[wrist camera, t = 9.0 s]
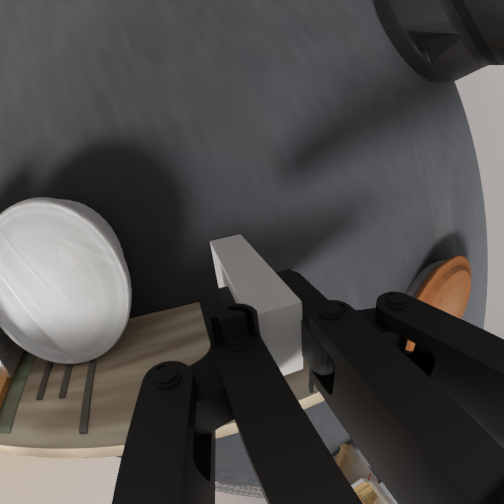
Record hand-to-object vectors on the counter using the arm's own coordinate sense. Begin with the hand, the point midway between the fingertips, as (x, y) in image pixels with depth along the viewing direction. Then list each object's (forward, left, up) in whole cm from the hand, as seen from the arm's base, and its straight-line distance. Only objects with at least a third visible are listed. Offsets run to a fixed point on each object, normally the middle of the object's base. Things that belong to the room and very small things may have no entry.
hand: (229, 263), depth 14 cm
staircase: (+48, +12, -8) cm, 50 cm away
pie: (+16, +27, -8) cm, 32 cm away
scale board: (+6, -10, -8) cm, 14 cm away
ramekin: (0, -11, -8) cm, 13 cm away
